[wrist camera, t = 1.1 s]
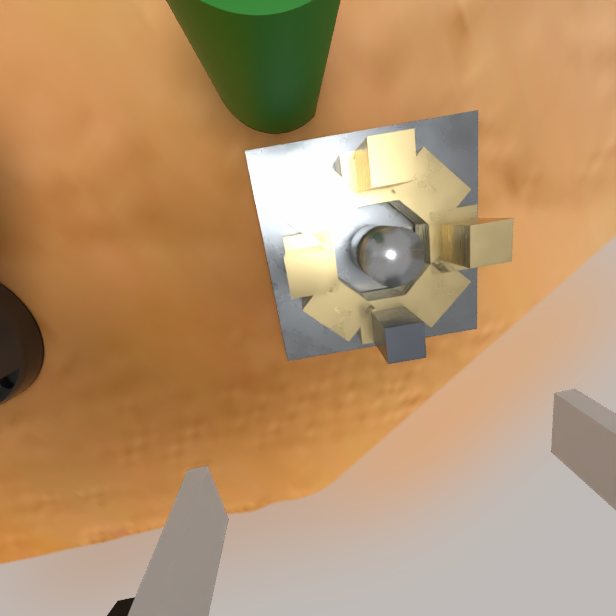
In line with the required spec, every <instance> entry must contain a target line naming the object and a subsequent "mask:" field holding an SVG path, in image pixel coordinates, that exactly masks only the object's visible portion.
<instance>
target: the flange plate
mask: <svg viewBox="0 0 616 616" xmlns="http://www.w3.org/2000/svg"><path fill="white" fill-rule="evenodd" d="M414 128H415V148H416V150H418V149H420V148H422V147H425V148H426V149H427V150H428V151H429V152H430V153H431V154H432V155H434V156H435V157H436V158H437V159H438V160H439V161H440V162H441V163H442V164H444V165H445V166H446V167H447V168H448V169H449V170H450V171H451V172H452V173H454V174H455V175H456V176H457V177H458V178H459V179H460V180H461V181H462V182H464V183H465V184H466V185H467V186H468V187H469V188H470V189H471V190H470V191H469V193H468V194H467V195H466V196H465V198H464V199H463V200H462V201H461V203H460V204H459V205H458V206H460V205H474V204H477V218H478V110H477V111H471V112H465V113H460V114H454V115H448V116H442V117H437V118H431V119H425V120H419V121H414V122H408V123H402V124H396V125H391V126H385V127H379V128H373V129H368V130H362V131H356V132H351V133H345V134H339V135H333V136H328V137H322V138H316V139H310V140H305V141H299V142H293V143H287V144H282V145H276V146H270V147H264V148H259V149H253V150H247V151H245V154H246V159H247V164H248V169H249V174H250V178H251V183H252V188H253V193H254V198H255V203H256V208H257V213H258V217H259V222H260V227H261V232H262V237H263V242H264V247H265V251H266V256H267V261H268V266H269V271H270V276H271V281H272V286H273V290H274V295H275V300H276V305H277V310H278V315H279V320H280V325H281V329H282V334H283V339H284V344H285V349H286V354H287V359H288V361H289V360H295V359H301V358H307V357H313V356H318V355H324V354H330V353H336V352H342V351H348V350H354V349H360V348H366V347H372V346H376V344H375V343H368V344H362V343H361V341H360V339H359V337H358V335H357V333H355V335H354V336H353V337H352V338H351V340H350V341H347V340H346V339H344V338H343V337H341V336H340V335H338V334H337V333H335V332H334V331H332V330H331V329H329V328H328V327H326V326H325V325H323V324H322V323H320V322H319V321H317V320H316V319H314V318H313V317H311V316H310V315H308V314H307V313H305V312H304V311H302V300H303V299H304V297H301V298H295V299H291V294H290V288H289V283H288V278H287V272H286V267H285V262H284V255H285V246H284V240H283V237H284V236H285V235H291V234H296V233H302V232H300V231H299V230H298V229H296V228H295V227H294V226H292V225H291V224H289V223H288V222H287V220H288V218H289V217H290V215H291V214H292V212H293V211H294V209H295V208H296V206H297V205H298V203H299V202H300V200H301V199H302V197H303V196H304V194H305V193H306V191H307V190H308V188H309V187H310V185H311V184H312V182H313V181H314V179H315V178H316V176H317V175H318V173H319V172H320V170H321V169H322V167H323V166H324V164H326V165H327V166H328V167H330V168H331V169H332V170H333V171H335V172H336V168H335V160H336V158H337V157H338V155H339V154H341V153H346V152H352V151H355V150H356V148H357V147H358V146H359V145H360V144H361V143H362V142H363V141H364V139H365V138H366V137H368V136H373V135H379V134H385V133H391V132H396V131H402V130H408V129H414ZM333 244H334V252H335V259H336V266H337V274H338V277H339V278H340V279H342V280H343V281H345V282H346V283H347V284H349V285H350V286H352V287H353V288H354V289H356V290H357V291H359V292H360V293H365V292H370V291H376V290H382V289H388V288H394V287H398V286H402V285H404V284H406V283H408V282H410V281H411V280H413V279H414V278H415V277H416V276H417V275H418V273H419V272H420V270H421V268H422V266H423V263H424V258H425V250H424V245H423V243H422V241H421V239H420V238H419V236H418V235H417V234H416V233H415V224H414V223H413V222H412V221H411V220H410V219H408V218H407V217H406V216H405V215H404V214H402V213H401V212H400V211H399V210H397V209H396V208H395V207H394V206H393V205H391V204H390V203H389V202H388V201H387V202H381V203H376V204H370V205H364V206H358V207H357V208H356V210H355V211H354V213H353V214H352V215H351V217H350V218H349V220H348V221H347V222H346V224H345V225H344V226H343V228H342V229H341V231H340V232H339V233H338V235H337V236H336V238H335V239H334V240H333ZM458 272H460V273H461V274H462V275H463V276H465V277H466V278H467V279H468V280H470V281H471V283H470V284H469V285H468V286H467V287H466V288H465V290H464V291H463V292H462V293H461V294H460V295H459V296H458V298H457V299H456V300H455V301H454V302H453V303H452V305H451V306H450V307H449V308H448V309H447V310H446V311H445V313H444V314H443V315H442V316H441V317H440V318H439V319H438V321H437V322H436V323H435V324H434V325H433V326H432V327H430V326H428V325H427V324H426V323H424V326H425V337H431V336H436V335H442V334H448V333H454V332H460V331H466V330H472V329H477V267H476V268H469V269H464V270H458Z"/></svg>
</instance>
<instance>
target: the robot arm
mask: <svg viewBox="0 0 616 616" xmlns="http://www.w3.org/2000/svg"><path fill="white" fill-rule="evenodd" d="M42 359H43V346H42V340H41V336H40V333H39V330H38V328H37V325H36V323H35V321H34V319H33V318H32V316H31V314H30V313H29V312H28V310H27V309H26V307H25V306H24V305H23V304H22V303H21V302H20V300H19V299H18V298H17V297H16V296H15V295H14V294H12V293H11V292H10V291H9V290H8V289H6V288H5V287H4V286H2V285H1V284H0V405H1V404H3V403H5V402H6V401H8V400H10V399H11V398H13V397H14V396H16V395H17V394H19V393H21V392H22V391H24V390H25V389H26V388H27V387H29V386H30V385H31V384H32V382H33V381H34V380H35V378H36V377H37V375H38V373H39V371H40V368H41V365H42ZM551 452H552V453H553V454H554V455H555V456H556V457H557V458H558V459H560V460H561V461H562V462H563V463H564V464H565V465H566V466H567V467H569V468H570V469H571V470H572V471H573V472H574V473H575V474H576V475H577V476H578V477H579V478H581V479H582V480H583V481H584V482H585V483H586V484H587V485H588V486H590V487H591V488H592V489H593V490H594V491H595V492H596V493H597V494H598V495H599V496H600V497H602V498H603V499H604V500H605V501H606V502H607V503H608V504H609V505H611V506H612V507H613V508H614V509H615V510H616V413H614V412H612V411H611V410H609V409H607V408H606V407H604V406H602V405H601V404H599V403H598V402H596V401H594V400H593V399H591V398H589V397H588V396H586V395H584V394H583V393H581V392H579V391H578V390H576V389H571V390H567V391H562V392H557V393H554V408H553V428H552V448H551ZM228 520H229V519H228V516H227V513H226V511H225V508H224V506H223V503H222V501H221V498H220V496H219V493H218V491H217V488H216V486H215V483H214V480H213V478H212V475H211V473H210V470H209V468H208V466H204V467H199V468H195V469H190V470H188V471H187V473H186V475H185V478H184V480H183V483H182V485H181V488H180V490H179V492H178V495H177V497H176V500H175V502H174V504H173V507H172V509H171V512H170V514H169V517H168V519H167V521H166V524H165V526H164V529H163V531H162V534H161V536H160V538H159V541H158V543H157V546H156V548H155V551H154V553H153V555H152V558H151V560H150V563H149V565H148V567H147V570H146V572H145V575H144V577H143V579H142V582H141V584H140V587H139V589H138V592H137V594H136V596H135V597H134V598H129V599H125V600H120V601H117V603H116V604H115V605H114V607H113V608H112V610H111V611H110V613H109V614H108V615H107V616H208V614H209V610H210V605H211V600H212V596H213V591H214V585H215V581H216V577H217V572H218V567H219V562H220V558H221V553H222V548H223V543H224V538H225V534H226V529H227V524H228Z"/></svg>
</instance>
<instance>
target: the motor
mask: <svg viewBox="0 0 616 616" xmlns="http://www.w3.org/2000/svg"><path fill="white" fill-rule="evenodd" d="M166 1H167V3H168V5H169V6H170V8H171V10H172V12H173V13H174V15H175V17H176V19H177V21H178V22H179V24H180V26H181V28H182V29H183V31H184V33H185V35H186V37H187V38H188V40H189V42H190V44H191V45H192V47H193V49H194V51H195V53H196V54H197V56H198V58H199V60H200V61H201V63H202V65H203V67H204V69H205V70H206V72H207V74H208V76H209V77H210V79H211V81H212V83H213V85H214V86H215V88H216V90H217V92H218V93H219V95H220V97H221V99H222V100H223V102H224V104H225V105H226V107H227V108H228V109H229V110H230V111H231V113H232V114H233V115H234V116H235V117H236V118H238V119H239V120H240V121H241V122H243V123H244V124H246V125H247V126H249V127H251V128H253V129H255V130H258V131H261V132H266V133H285V132H289V131H292V130H295V129H297V128H299V127H301V126H303V125H304V124H306V123H307V122H308V121H310V120H311V119H312V118H313V117H314V115H315V110H316V106H317V101H318V97H319V93H320V88H321V84H322V79H323V75H324V71H325V66H326V62H327V57H328V53H329V48H330V44H331V40H332V35H333V31H334V26H335V22H336V18H337V13H338V9H339V4H340V0H166Z"/></svg>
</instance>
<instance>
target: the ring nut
mask: <svg viewBox="0 0 616 616" xmlns="http://www.w3.org/2000/svg"><path fill="white" fill-rule="evenodd" d="M335 168H336V172H335V171H333V170H332V169H331V168H330V167H328V166H327V165H326V164H324V166H323V167H322V169H321V170H320V172H319V173H318V175H317V176H316V178H315V179H314V181H313V182H312V184H311V185H310V187H309V188H308V190H307V191H306V193H305V194H304V196H303V197H302V199H301V200H300V202H299V203H298V205H297V206H296V208H295V209H294V211H293V212H292V214H291V215H290V217H289V218H288V220H287V222H288V223H289V224H291V225H292V226H294V227H295V228H296V229H298V230H299V231H300V232H302V233H296V234H291V235H285V236H284V237H283V240H284V246H285V255H284V262H285V267H286V272H287V278H288V283H289V288H290V294H291V299H295V298H301V297H304V299H303V300H302V311H304V312H305V313H307V314H308V315H310V316H311V317H313V318H314V319H316V320H317V321H319V322H320V323H322V324H323V325H325V326H326V327H328V328H329V329H331V330H332V331H334V332H335V333H337V334H338V335H340V336H341V337H343V338H344V339H346V340H347V341H350V340H351V338H352V337H353V336H354V335H355V333H357V335H358V337H359V339H360V341H361V343H362V344H368V343H375V344H376V346H377V347H378V349H379V350H380V352H381V354H382V355H383V357H384V358H385V360H386V361H387V363H388V364H391V363H397V362H403V361H409V360H415V359H421V358H426V346H425V326H424V323H426V324H427V325H428V326H430V327H432V326H433V325H434V324H435V323H436V322H437V321H438V319H439V318H440V317H441V316H442V315H443V314H444V313H445V311H446V310H447V309H448V308H449V307H450V306H451V305H452V303H453V302H454V301H455V300H456V299H457V298H458V296H459V295H460V294H461V293H462V292H463V291H464V290H465V288H466V287H467V286H468V285H469V284H470V283H471V281H470V280H468V279H467V278H466V277H465V276H463V275H462V274H461V273H460V272H458V270H464V269H469V268H476V267H482V266H488V265H494V264H500V263H505V262H511V261H512V242H513V218H477V204H474V205H460V206H458V205H459V204H460V203H461V201H462V200H463V199H464V198H465V196H466V195H467V194H468V193H469V191H470V190H471V189H470V188H469V187H468V186H467V185H466V184H465V183H464V182H462V181H461V180H460V179H459V178H458V177H457V176H456V175H455V174H454V173H452V172H451V171H450V170H449V169H448V168H447V167H446V166H445V165H444V164H442V163H441V162H440V161H439V160H438V159H437V158H436V157H435V156H434V155H432V154H431V153H430V152H429V151H428V150H427V149H426V148H425V147H422V148H420V149H418V150H416V148H415V128H414V129H408V130H402V131H396V132H391V133H385V134H379V135H373V136H368V137H366V138H365V139H364V141H363V142H362V143H361V144H360V145H359V146H358V147H357V148H356V150H355V151H352V152H346V153H341V154H339V155H338V157H337V158H336V160H335ZM387 201H388V202H389V203H390V204H391V205H393V206H394V207H395V208H396V209H397V210H399V211H400V212H401V213H402V214H404V215H405V216H406V217H407V218H408V219H410V220H411V221H412V222H413V223H414V224H415V233H416V234H417V235H418V236H419V238H420V239H421V241H422V243H423V245H424V250H425V258H424V263H423V266H422V268H421V270H420V272H419V273H418V275H417V276H416V277H415V278H414V279H413V280H411V281H410V282H408V283H406V284H404V285H402V286H398V287H394V288H388V289H382V290H376V291H370V292H365V293H360V292H359V291H357V290H356V289H354V288H353V287H352V286H350V285H349V284H347V283H346V282H345V281H343V280H342V279H340V278H339V277H338V274H337V266H336V259H335V252H334V244H333V240H334V239H335V238H336V236H337V235H338V233H339V232H340V231H341V229H342V228H343V226H344V225H345V224H346V222H347V221H348V220H349V218H350V217H351V215H352V214H353V213H354V211H355V210H356V208H357V207H358V206H364V205H370V204H376V203H381V202H387Z"/></svg>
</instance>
